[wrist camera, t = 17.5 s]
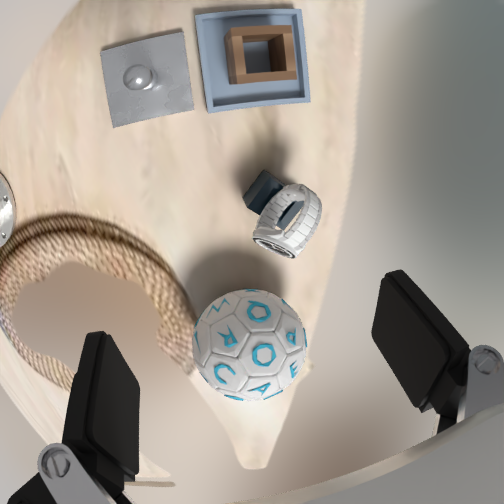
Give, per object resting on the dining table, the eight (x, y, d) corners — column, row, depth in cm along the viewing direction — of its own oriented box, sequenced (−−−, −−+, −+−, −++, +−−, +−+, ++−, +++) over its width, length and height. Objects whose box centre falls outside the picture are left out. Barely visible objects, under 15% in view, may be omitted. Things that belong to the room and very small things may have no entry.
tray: (207, 111, 32) (208, 113, 30) (195, 18, 26) (195, 15, 24) (304, 101, 33) (310, 102, 31) (295, 12, 27) (301, 9, 25)
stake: (115, 126, 30) (97, 138, 24) (103, 52, 26) (81, 45, 19) (194, 108, 31) (195, 115, 25) (183, 33, 27) (182, 19, 20)
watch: (233, 210, 38) (249, 256, 29) (272, 157, 36) (303, 187, 27) (268, 231, 41) (293, 280, 32) (306, 182, 38) (345, 219, 29)
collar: (223, 37, 27) (230, 27, 22) (274, 33, 28) (291, 24, 23) (229, 84, 30) (237, 84, 25) (279, 79, 31) (297, 79, 26)
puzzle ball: (307, 299, 48) (344, 372, 36) (243, 355, 52) (261, 429, 40) (235, 247, 41) (259, 327, 29) (169, 318, 45) (170, 402, 32)
